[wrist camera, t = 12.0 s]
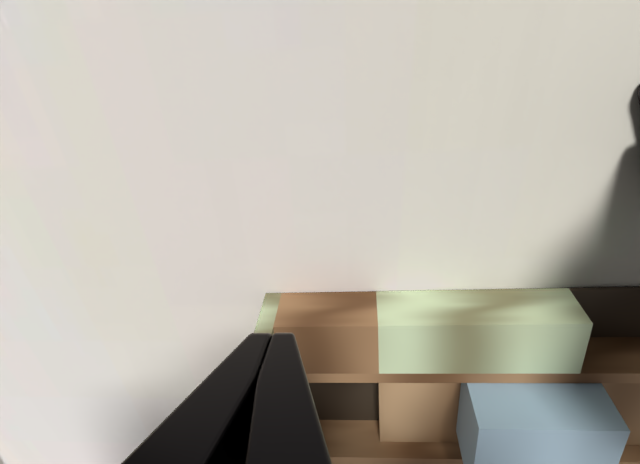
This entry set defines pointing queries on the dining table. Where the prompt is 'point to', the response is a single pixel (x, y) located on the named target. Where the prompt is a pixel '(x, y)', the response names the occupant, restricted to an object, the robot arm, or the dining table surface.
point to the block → (539, 424)
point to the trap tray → (451, 359)
